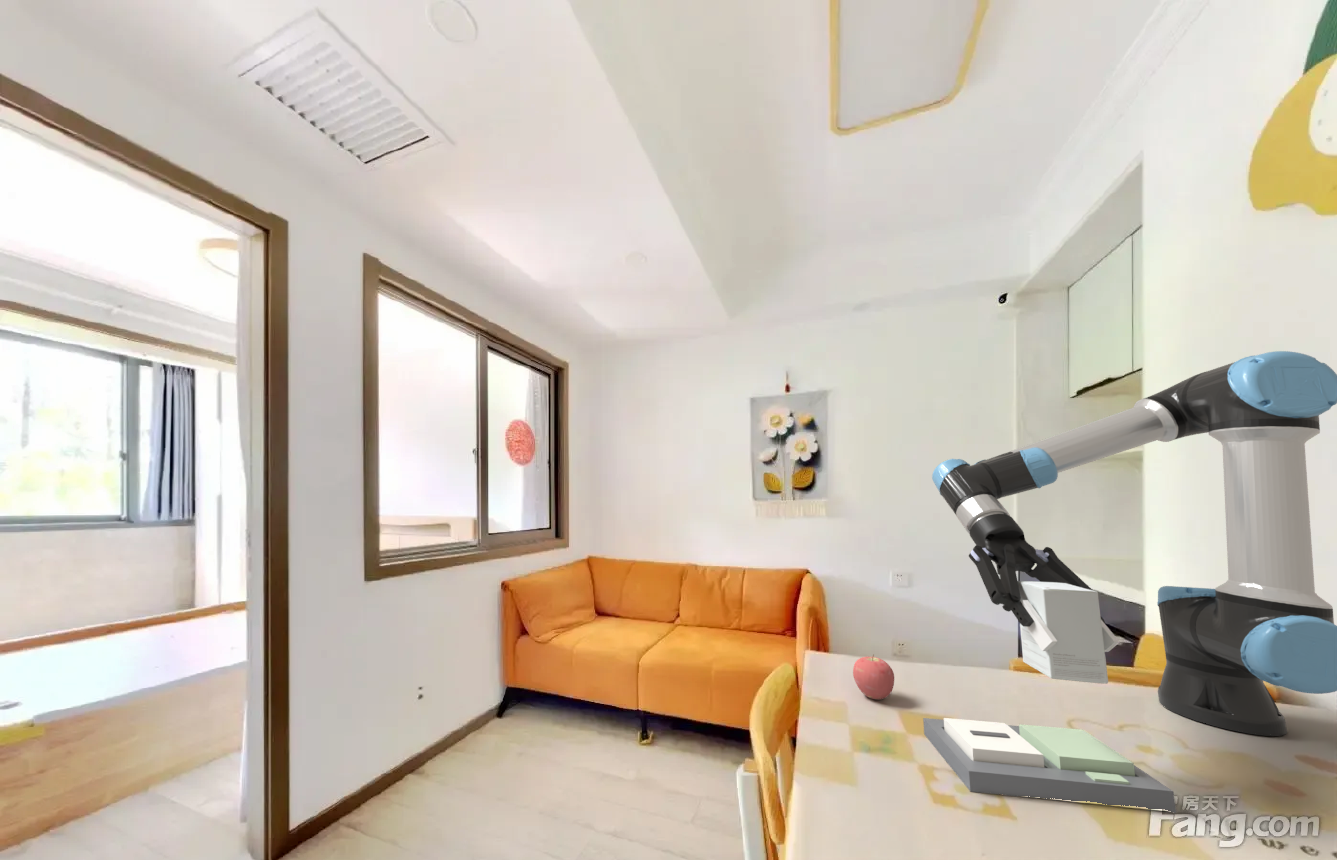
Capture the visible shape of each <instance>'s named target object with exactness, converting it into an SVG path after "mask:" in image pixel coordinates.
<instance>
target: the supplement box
mask: <svg viewBox="0 0 1337 860" xmlns="http://www.w3.org/2000/svg"><path fill="white" fill-rule="evenodd" d="M1017 581H1018V586H1019V591H1020V596H1021V600H1020V601H1021V602H1022V601H1023V600H1028V601H1029V602H1030V604H1031V605H1032V606H1033V608H1034V609H1035V611H1036V612H1037V613H1038V615H1039V616H1040V618H1041V619H1042V620H1043V622H1044V623H1045V625H1046V626H1047V627H1048V629H1049V630H1050V631H1051V633H1052V634H1053V636H1054V637H1055V638H1056V640H1057V642H1056V643H1055V644H1054V645H1053V646H1052V647H1051V648H1050V649H1049V650H1048V651H1042V650H1041V648H1040V647H1039V645H1038V644H1037V642H1036V641H1035V640H1034V638H1033V637H1032V635H1031V634H1030V632H1029V631H1028V629H1027V628H1026V626H1022V625H1021V624H1020V623H1019V627H1020V638H1021V640H1020V641H1021V651H1022V662H1023V663H1025V664H1026V665H1028V666H1030V667H1031V668H1032V669H1035V670H1036V671H1039V673H1041V674H1043V675H1044V676H1046V677H1048V678H1049V679H1051V680H1052V679H1053V680H1059V681H1060V680H1061V681H1068V682H1069V681H1071V682H1079V683H1089V684H1090V683H1091V684H1093V683H1094V684H1101V685H1102V684H1105V685H1106V684H1109V677H1108V676H1109V675H1108V670H1107V669H1108V667H1107V659H1106V652H1105V650H1104V641H1103V633H1102V624H1101V617H1102V616H1101V608H1100V601H1099V592H1098V591H1097V590H1093V589H1092V590H1089V589H1085V588H1081V587H1078V586H1074V585H1070V584H1067V583H1056V582H1040V581H1034V580H1033V581H1031V580H1030V581H1029V580H1028V581H1027V580H1026V581H1025V580H1017Z"/></svg>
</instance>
